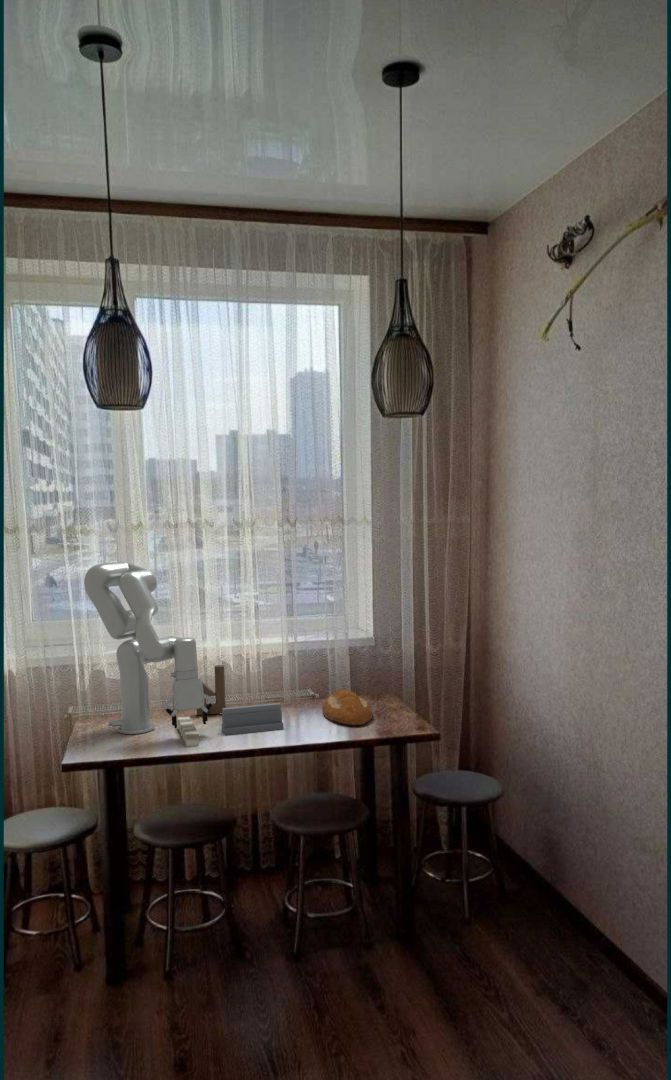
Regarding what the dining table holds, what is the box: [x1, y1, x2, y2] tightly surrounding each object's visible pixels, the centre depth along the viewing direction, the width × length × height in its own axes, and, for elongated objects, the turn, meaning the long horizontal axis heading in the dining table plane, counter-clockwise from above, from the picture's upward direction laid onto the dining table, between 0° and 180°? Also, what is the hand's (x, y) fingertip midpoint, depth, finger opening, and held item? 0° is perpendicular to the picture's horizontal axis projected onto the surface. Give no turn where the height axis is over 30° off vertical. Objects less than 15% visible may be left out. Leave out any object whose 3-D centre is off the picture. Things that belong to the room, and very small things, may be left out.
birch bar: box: [177, 716, 200, 747], centre depth 285 cm, size 24×4×4 cm, turn 17°
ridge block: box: [221, 702, 284, 736], centre depth 291 cm, size 20×8×8 cm, turn 107°
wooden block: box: [196, 664, 227, 716], centre depth 314 cm, size 4×11×18 cm, turn 98°
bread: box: [321, 689, 373, 726], centre depth 307 cm, size 18×35×9 cm, turn 10°
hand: (190, 725), depth 285 cm, fingers open, 9 cm apart
